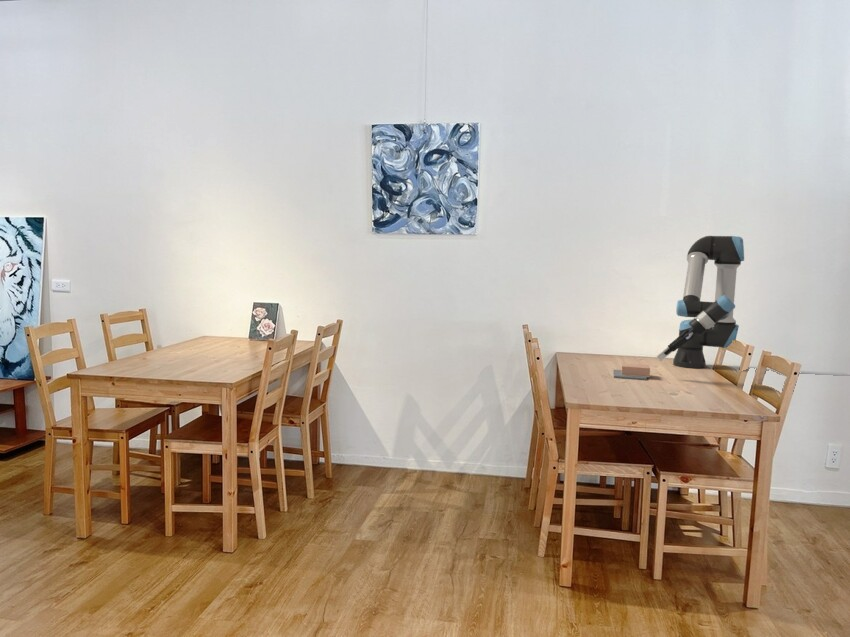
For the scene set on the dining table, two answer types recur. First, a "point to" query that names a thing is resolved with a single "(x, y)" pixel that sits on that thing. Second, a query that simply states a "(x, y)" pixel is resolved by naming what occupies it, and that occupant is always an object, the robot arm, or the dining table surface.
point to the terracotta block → (635, 370)
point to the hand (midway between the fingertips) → (658, 358)
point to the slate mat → (618, 375)
